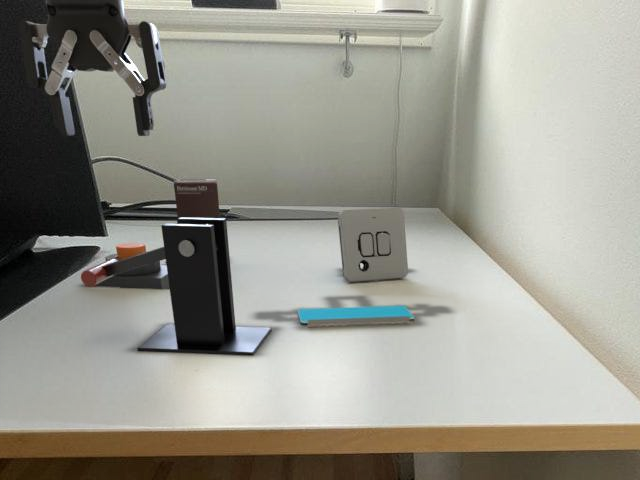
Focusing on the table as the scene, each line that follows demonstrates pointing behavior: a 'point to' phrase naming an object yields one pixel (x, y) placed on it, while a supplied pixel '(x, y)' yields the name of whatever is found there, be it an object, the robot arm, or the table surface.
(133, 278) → the button box
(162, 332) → the bracket
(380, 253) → the electrical switch
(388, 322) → the blue book
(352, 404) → the table surface
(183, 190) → the box
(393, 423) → the table surface
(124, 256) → the button
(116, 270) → the lever
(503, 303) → the table surface
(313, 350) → the table surface
